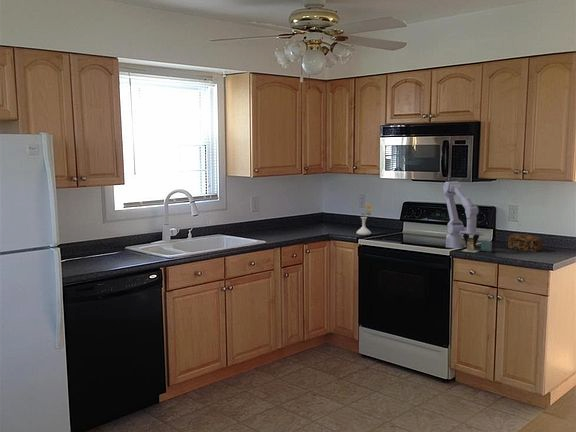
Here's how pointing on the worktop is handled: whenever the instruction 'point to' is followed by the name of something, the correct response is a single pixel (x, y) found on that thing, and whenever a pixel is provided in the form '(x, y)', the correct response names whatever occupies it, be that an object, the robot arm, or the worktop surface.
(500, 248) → the worktop surface
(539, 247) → the bread
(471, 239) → the brown wooden box
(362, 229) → the flower in vase
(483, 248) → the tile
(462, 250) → the mat
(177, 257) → the worktop surface
